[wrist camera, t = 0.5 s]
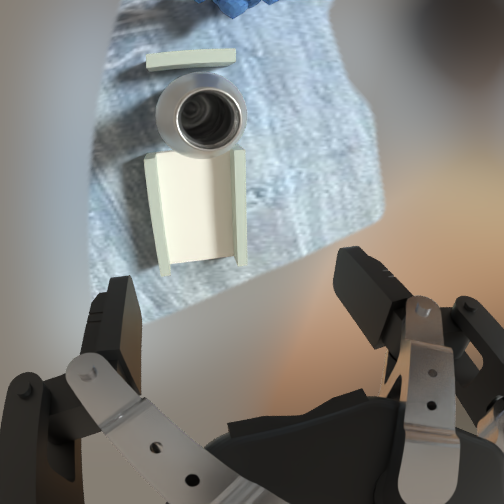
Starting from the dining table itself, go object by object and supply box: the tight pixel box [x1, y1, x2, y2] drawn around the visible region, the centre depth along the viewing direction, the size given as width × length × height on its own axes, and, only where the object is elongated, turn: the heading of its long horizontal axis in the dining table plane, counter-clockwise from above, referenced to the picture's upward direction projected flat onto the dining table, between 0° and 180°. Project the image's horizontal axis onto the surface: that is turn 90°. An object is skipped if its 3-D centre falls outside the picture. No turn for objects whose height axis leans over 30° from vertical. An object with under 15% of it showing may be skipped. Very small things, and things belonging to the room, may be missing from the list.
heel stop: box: [146, 49, 236, 72], centre depth 27 cm, size 2×9×4 cm, turn 91°
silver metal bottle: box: [155, 72, 247, 159], centre depth 24 cm, size 6×7×20 cm
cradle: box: [144, 144, 247, 277], centre depth 36 cm, size 14×11×4 cm
